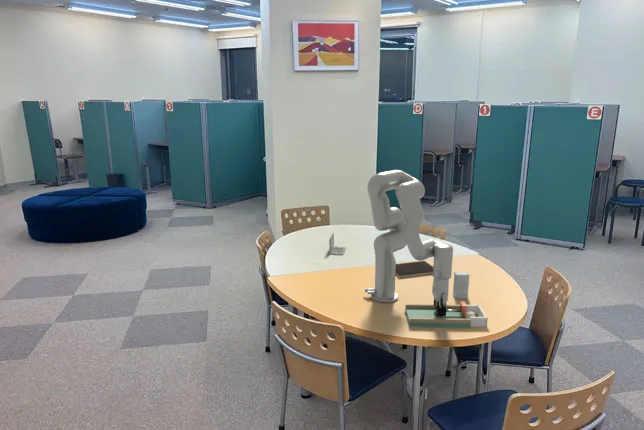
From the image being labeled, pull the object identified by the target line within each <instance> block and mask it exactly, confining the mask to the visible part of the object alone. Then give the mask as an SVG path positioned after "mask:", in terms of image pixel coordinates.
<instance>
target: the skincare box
mask: <svg viewBox="0 0 644 430" xmlns="http://www.w3.org/2000/svg"><path fill="white" fill-rule="evenodd" d="M469 286H470V274H469V273H468V272H467V271H454V273H453V289H452V296H453V297H454V299H468V298H469Z"/></svg>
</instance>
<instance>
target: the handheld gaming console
mask: <svg viewBox="0 0 644 430" xmlns="http://www.w3.org/2000/svg"><path fill="white" fill-rule="evenodd" d="M334 234H335V233H334V232H332V233H331V234H330V237H329V240H328V241H329V243H328V244H329V249H328V250H329V252H328V255H331V256H332V255H335V256H344V254H345V252H346V250H347V248H346V247H345V246H334V244H335V235H334Z"/></svg>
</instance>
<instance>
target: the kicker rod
mask: <svg viewBox="0 0 644 430" xmlns="http://www.w3.org/2000/svg"><path fill="white" fill-rule="evenodd" d="M440 300H442V299H440ZM442 303H443V302H441V304H442ZM459 305H460V309H446V312H459V313H460V315H461V316H462V317H467V305H468V304H467V303H466V301H459ZM438 307H439V301H436V306H435V314H436V316H438Z"/></svg>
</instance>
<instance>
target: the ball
mask: <svg viewBox="0 0 644 430" xmlns="http://www.w3.org/2000/svg"><path fill="white" fill-rule="evenodd" d="M467 317H468V319H470V317H476V314H474V313H473V312H468V313H467Z"/></svg>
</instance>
